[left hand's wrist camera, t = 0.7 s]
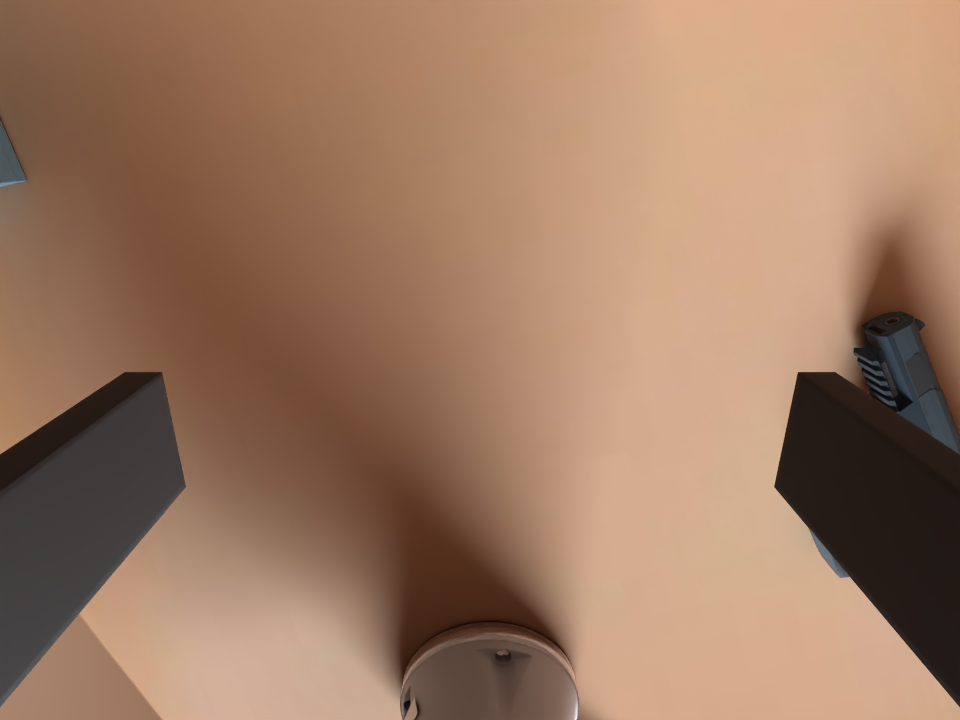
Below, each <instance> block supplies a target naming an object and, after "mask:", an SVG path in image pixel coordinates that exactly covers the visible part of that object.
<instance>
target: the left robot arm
mask: <svg viewBox="0 0 960 720" xmlns="http://www.w3.org/2000/svg"><path fill="white" fill-rule="evenodd" d="M185 487H186V486H185V481H184V476H183V471H182V467H181V462H180V457H179V452H178V447H177V443H176V438H175V433H174V428H173V423H172V418H171V414H170V409H169V404H168V399H167V394H166V389H165V385H164V380H163V375H162V372H124V373H123V374H121V375H120V376H118V377H117V378H115V379H114V380H112V381H111V382H109V383H108V384H106V385H105V386H103V387H102V388H100V389H99V390H97V391H96V392H94V393H93V394H91V395H90V396H88V397H87V398H85V399H84V400H82V401H81V402H79V403H78V404H76V405H74V406H73V407H71V408H70V409H68V410H67V411H65V412H64V413H62V414H61V415H59V416H58V417H56V418H55V419H53V420H52V421H50V422H49V423H47V424H46V425H44V426H43V427H41V428H40V429H38V430H37V431H35V432H34V433H32V434H31V435H29V436H28V437H26V438H24V439H23V440H21V441H20V442H18V443H17V444H15V445H14V446H12V447H11V448H9V449H8V450H6V451H5V452H3V453H2V454H0V707H1V705H2V704H3V703H4V702H5V701H6V700H7V698H8V697H9V696H10V695H11V694H12V692H13V691H14V690H15V689H16V688H17V687H18V685H19V684H20V683H21V682H22V681H23V679H24V678H25V677H26V676H27V675H28V673H29V672H30V671H31V670H32V669H33V668H34V666H35V665H36V664H37V663H38V662H39V660H40V659H41V658H42V657H43V656H44V654H45V653H46V652H47V651H48V650H49V649H50V647H51V646H52V645H53V644H54V643H55V641H56V640H57V639H58V638H59V637H60V635H61V634H62V633H63V632H64V631H65V630H66V628H67V627H68V626H69V625H70V624H71V622H72V621H73V620H74V619H75V618H76V616H77V615H78V614H79V613H80V612H81V611H82V609H83V608H84V607H85V606H86V605H87V603H88V602H89V601H90V600H91V599H92V598H93V596H94V595H95V594H96V593H97V592H98V590H99V589H100V588H101V587H102V586H103V584H104V583H105V582H106V581H107V580H108V579H109V577H110V576H111V575H112V574H113V573H114V571H115V570H116V569H117V568H118V567H119V566H120V564H121V563H122V562H123V561H124V560H125V558H126V557H127V556H128V555H129V554H130V552H131V551H132V550H133V549H134V548H135V547H136V545H137V544H138V543H139V542H140V541H141V539H142V538H143V537H144V536H145V535H146V533H147V532H148V531H149V530H150V529H151V528H152V526H153V525H154V524H155V523H156V522H157V520H158V519H159V518H160V517H161V516H162V514H163V513H164V512H165V511H166V510H167V509H168V507H169V506H170V505H171V504H172V503H173V501H174V500H175V499H176V498H177V497H178V496H179V494H180V493H181V492H182V491H183V490H184V488H185ZM774 487H775V488H776V490H777V491H778V492H779V493H780V494H781V496H782V497H783V498H784V499H785V500H786V501H787V503H788V504H789V505H790V506H791V507H792V509H793V510H794V511H795V512H796V513H797V515H798V516H799V517H800V518H801V519H802V520H803V522H804V523H805V524H806V525H807V526H808V528H809V529H810V530H811V531H812V532H813V533H814V535H815V536H816V537H817V538H818V539H819V541H820V542H821V543H822V544H823V545H824V547H825V548H826V549H827V550H828V551H829V552H830V554H831V555H832V556H833V557H834V558H835V560H836V561H837V562H838V563H839V564H840V566H841V567H842V568H843V569H844V570H845V571H846V573H847V574H848V575H849V576H850V577H851V579H852V580H853V581H854V582H855V583H856V584H857V586H858V587H859V588H860V589H861V590H862V592H863V593H864V594H865V595H866V596H867V598H868V599H869V600H870V601H871V602H872V603H873V605H874V606H875V607H876V608H877V609H878V611H879V612H880V613H881V614H882V615H883V617H884V618H885V619H886V620H887V621H888V622H889V624H890V625H891V626H892V627H893V628H894V630H895V631H896V632H897V633H898V634H899V636H900V637H901V638H902V639H903V640H904V641H905V643H906V644H907V645H908V646H909V647H910V649H911V650H912V651H913V652H914V653H915V654H916V656H917V657H918V658H919V659H920V660H921V662H922V663H923V664H924V665H925V666H926V668H927V669H928V670H929V671H930V672H931V673H932V675H933V676H934V677H935V678H936V679H937V681H938V682H939V683H940V684H941V685H942V687H943V688H944V689H945V690H946V691H947V692H948V694H949V695H950V696H951V697H952V698H953V700H954V701H955V702H956V703H957V704H958V706H959V707H960V454H958V453H957V452H955V451H954V450H952V449H951V448H949V447H948V446H946V445H945V444H943V443H942V442H940V441H939V440H937V439H936V438H934V437H932V436H931V435H929V434H928V433H926V432H925V431H923V430H922V429H920V428H919V427H917V426H916V425H914V424H913V423H911V422H910V421H908V420H907V419H905V418H904V417H902V416H901V415H899V414H898V413H896V412H895V411H893V410H892V409H890V408H889V407H887V406H886V405H884V404H882V403H881V402H879V401H878V400H876V399H875V398H873V397H872V396H870V395H869V394H867V393H866V392H864V391H863V390H861V389H860V388H858V387H857V386H855V385H854V384H852V383H851V382H849V381H848V380H846V379H845V378H843V377H842V376H840V375H839V374H837V373H836V372H798V375H797V380H796V385H795V389H794V394H793V399H792V404H791V409H790V414H789V418H788V423H787V428H786V433H785V438H784V443H783V447H782V452H781V457H780V462H779V467H778V471H777V476H776V481H775V486H774Z"/></svg>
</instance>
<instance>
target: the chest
mask: <svg viewBox="0 0 960 720" xmlns="http://www.w3.org/2000/svg"><path fill="white" fill-rule="evenodd" d="M26 181H27V179H26V177H25V175H24V172H23V170H22V168H21V166H20V163H19V161H18V159H17V156H16V154H15V152H14V150H13V147H12V145H11V143H10V141H9V138H8V136H7V134H6V131H5V129H4V127H3V125H2V122H1V120H0V187H2V186H7V185H11V184H16V183H21V182H26Z"/></svg>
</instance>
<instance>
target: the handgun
mask: <svg viewBox="0 0 960 720" xmlns="http://www.w3.org/2000/svg"><path fill="white" fill-rule="evenodd" d="M924 326H925V324H924V323H923V322H922V321H920V320H918V319H914V317H913V316H911V315H908V314H906V313H903V312H893V313H887V314H884V315H882V316H880V317H877V318H875V319H873V320H871V321H870V322H868V323H866V324H864V325H862V327H863V329H864V332H865V334H866V337H867V339H868V342H869V344H868V345H867V346H865V347H864V348H854V354H855V356H857V357H859V358H858V360H857V361H858V364H859V366H861V367H862V373H863V375H864V376H866V383H867V385H869V386H870V389H869V390H870V392H871V394H872V395H874V396H872V397H873V398H875V399H876V400H878V401H879V402H881V403H882V404H884V405H886V406H887V407H889V408H890V409H892V410H893V411H895V412H896V413H898V414H899V415H901V416H902V417H904V418H905V419H907V420H908V421H910V422H911V423H913V424H914V425H916V426H917V427H919V428H920V429H922V430H923V431H925V432H926V433H928V434H929V435H931V436H932V437H934V438H936V439H937V440H939V441H940V442H942V443H943V444H945V445H946V446H948V447H949V448H951V449H952V450H954V451H955V452H957V453H958V454H960V436H959V433H958V430H957V428H956V425H955V422H954V420H953V417H952V415H951V412H950V409H949V407H948V404H947V401H946V399H945V396H944V393H943V391H942V390H941V388H940V386H939V383H938V380H937V378H936V375H935V372H934V370H933V367H932V364H931V362H930V359H929V356H928V354H927V351H926V348H925V346H924V343H923V341H922V338H921V335H920V333H919V331H920V330H921V329H922V328H923V327H924ZM809 530H810V529H809ZM810 532H811V535H812V537H813V539H814V542H815V544H816V546H817V548H818V550H819V552H820V554H821V556H822V557H823V558H824V560H825V561H826V562H827V563H828V565H829V566H830V567H831V568H832V569H833V571H834V572H835V573H836V574H837V575H838V576H839V577H840V578H843V577H850V576H849V575H848V574H847V573H846V571H845V570H844V569H843V568H842V567H841V566H840V564H839V563H838V562H837V561H836V560H835V558H834V557H833V556H832V555H831V554H830V552H829V551H828V550H827V549H826V548H825V547H824V545H823V544H822V543H821V542H820V541H819V539H818V538H817V537H816V536H815V535H814V533H813V532H812V531H811V530H810Z"/></svg>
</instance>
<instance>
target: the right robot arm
mask: <svg viewBox="0 0 960 720" xmlns="http://www.w3.org/2000/svg"><path fill="white" fill-rule="evenodd" d="M400 709H401V715H402V719H403V720H576V719H577V715H578V709H579V698H578V692H577V686H576V681H575V675H574V672H573V668H572V666H571V664H570V662H569V660H568V659H567V657H566V656H565V654H564V653H563V652H562V651H561V650H560V649H559V648H558V647H557V646H556V645H555V644H554V643H553V642H552V641H550V640H549V639H547V638H546V637H544V636H542V635H541V634H539V633H537V632H535V631H532V630H530V629H527V628H524V627H521V626H517V625H513V624H507V623H498V622H481V623H472V624H467V625H462V626H458V627H455V628H452V629H450V630H447V631H445V632H443V633H441V634H439V635H437V636H435V637H434V638H432V639H430V640H429V641H428V642H426V643H425V644H424V645H423V646H422V647H421V648H420V649H419V650H418V651H417V652H416V653H415V654H414V656H413V657H412V659H411V660H410V662H409V664H408V666H407V668H406V671H405V674H404V678H403V685H402V692H401V701H400Z"/></svg>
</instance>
